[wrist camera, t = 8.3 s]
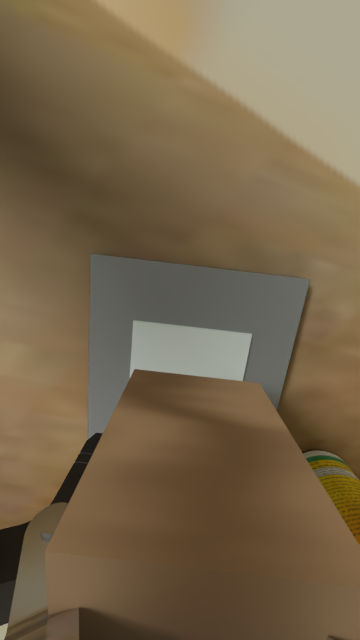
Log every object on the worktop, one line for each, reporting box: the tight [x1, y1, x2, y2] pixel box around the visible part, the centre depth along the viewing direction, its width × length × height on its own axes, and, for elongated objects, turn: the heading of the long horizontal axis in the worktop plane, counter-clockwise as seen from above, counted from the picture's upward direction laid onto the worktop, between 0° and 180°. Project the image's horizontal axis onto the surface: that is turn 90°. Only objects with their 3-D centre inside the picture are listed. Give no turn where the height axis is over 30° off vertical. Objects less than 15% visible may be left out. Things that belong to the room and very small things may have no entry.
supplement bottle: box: [303, 450, 360, 546], centre depth 15 cm, size 5×5×10 cm
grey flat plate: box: [88, 254, 310, 439], centre depth 17 cm, size 14×16×1 cm
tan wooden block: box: [45, 369, 360, 640], centre depth 8 cm, size 6×6×7 cm
